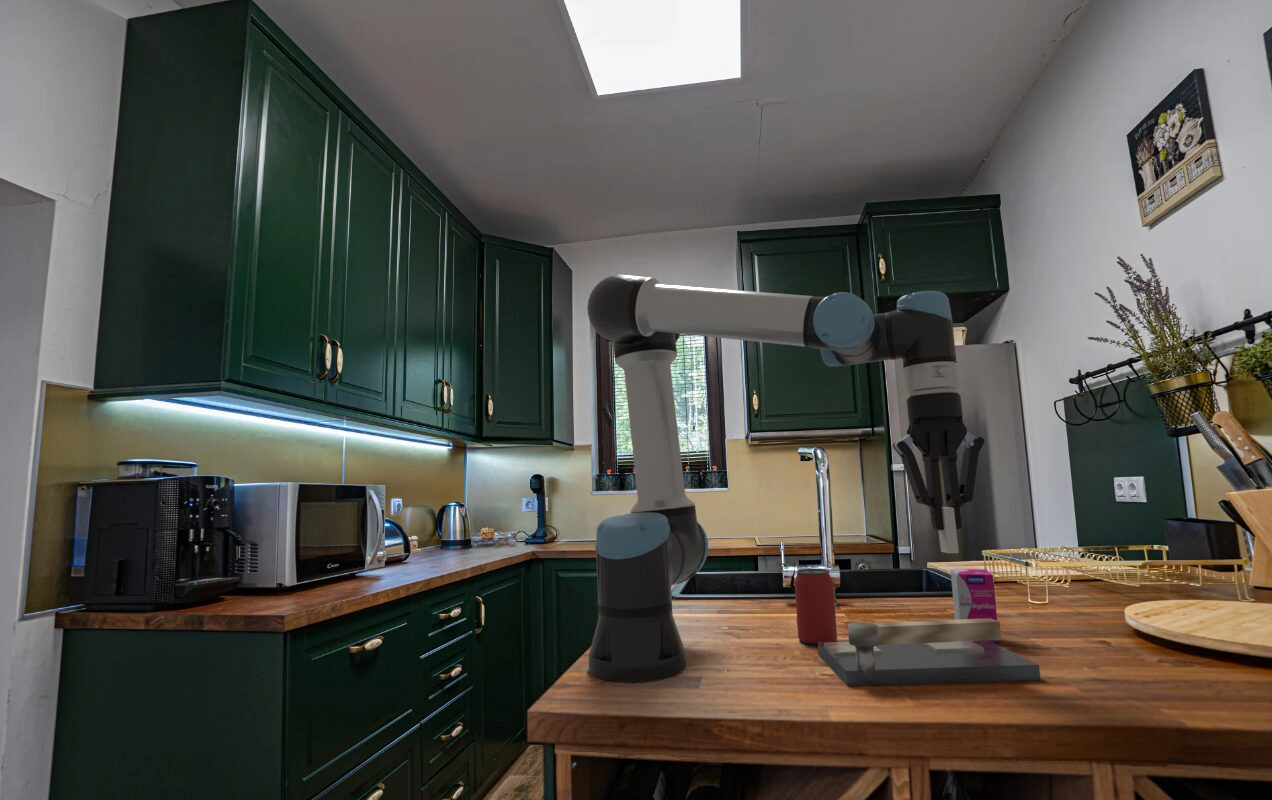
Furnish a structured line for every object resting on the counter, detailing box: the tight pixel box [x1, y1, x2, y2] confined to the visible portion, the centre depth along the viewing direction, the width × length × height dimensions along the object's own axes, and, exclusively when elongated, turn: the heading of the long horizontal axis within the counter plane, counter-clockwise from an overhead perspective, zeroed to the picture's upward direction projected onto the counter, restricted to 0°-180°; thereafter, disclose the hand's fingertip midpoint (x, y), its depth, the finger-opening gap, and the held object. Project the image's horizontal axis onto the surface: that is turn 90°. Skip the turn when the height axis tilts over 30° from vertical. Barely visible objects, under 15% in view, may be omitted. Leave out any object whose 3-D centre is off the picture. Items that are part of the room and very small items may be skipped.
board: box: [817, 640, 1042, 687], centre depth 98 cm, size 26×16×2 cm, turn 88°
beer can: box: [794, 568, 838, 646], centre depth 116 cm, size 7×7×12 cm
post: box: [855, 646, 875, 687], centre depth 92 cm, size 2×2×5 cm
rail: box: [847, 618, 1002, 647], centre depth 92 cm, size 20×4×2 cm, turn 90°
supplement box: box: [950, 568, 1000, 646], centre depth 112 cm, size 6×6×12 cm
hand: (949, 552), depth 98 cm, fingers closed
